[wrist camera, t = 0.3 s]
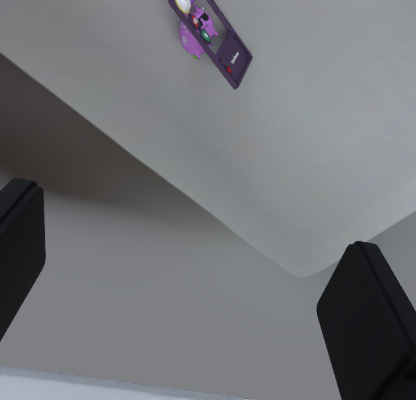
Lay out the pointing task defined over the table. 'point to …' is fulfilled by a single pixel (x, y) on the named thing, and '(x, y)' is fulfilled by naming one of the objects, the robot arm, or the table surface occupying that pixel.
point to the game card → (201, 38)
